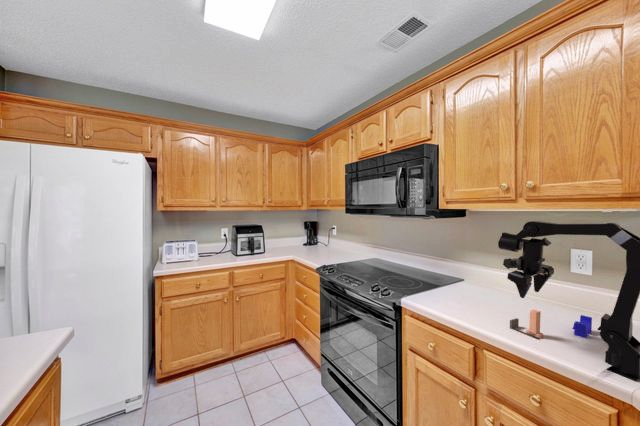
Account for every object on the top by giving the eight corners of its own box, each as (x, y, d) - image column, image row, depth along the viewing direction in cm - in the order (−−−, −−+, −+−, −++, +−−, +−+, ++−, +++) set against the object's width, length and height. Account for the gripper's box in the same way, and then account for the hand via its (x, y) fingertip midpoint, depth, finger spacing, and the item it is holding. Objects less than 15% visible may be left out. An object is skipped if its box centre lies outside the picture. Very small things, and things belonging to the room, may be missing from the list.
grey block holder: (547, 341, 94) (547, 329, 94) (539, 344, 92) (539, 331, 92) (516, 329, 103) (517, 318, 103) (509, 331, 101) (509, 320, 101)
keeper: (543, 336, 95) (543, 312, 95) (538, 338, 94) (539, 313, 93) (530, 331, 99) (531, 308, 98) (526, 333, 97) (526, 309, 97)
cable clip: (575, 328, 105) (575, 313, 105) (591, 332, 101) (591, 317, 101) (568, 337, 98) (568, 321, 98) (585, 342, 94) (585, 325, 94)
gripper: (522, 245, 106) (520, 281, 109) (493, 253, 99) (491, 292, 101) (556, 252, 96) (552, 292, 99) (527, 262, 89) (524, 304, 91)
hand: (529, 294), depth 98 cm, fingers open, 9 cm apart
